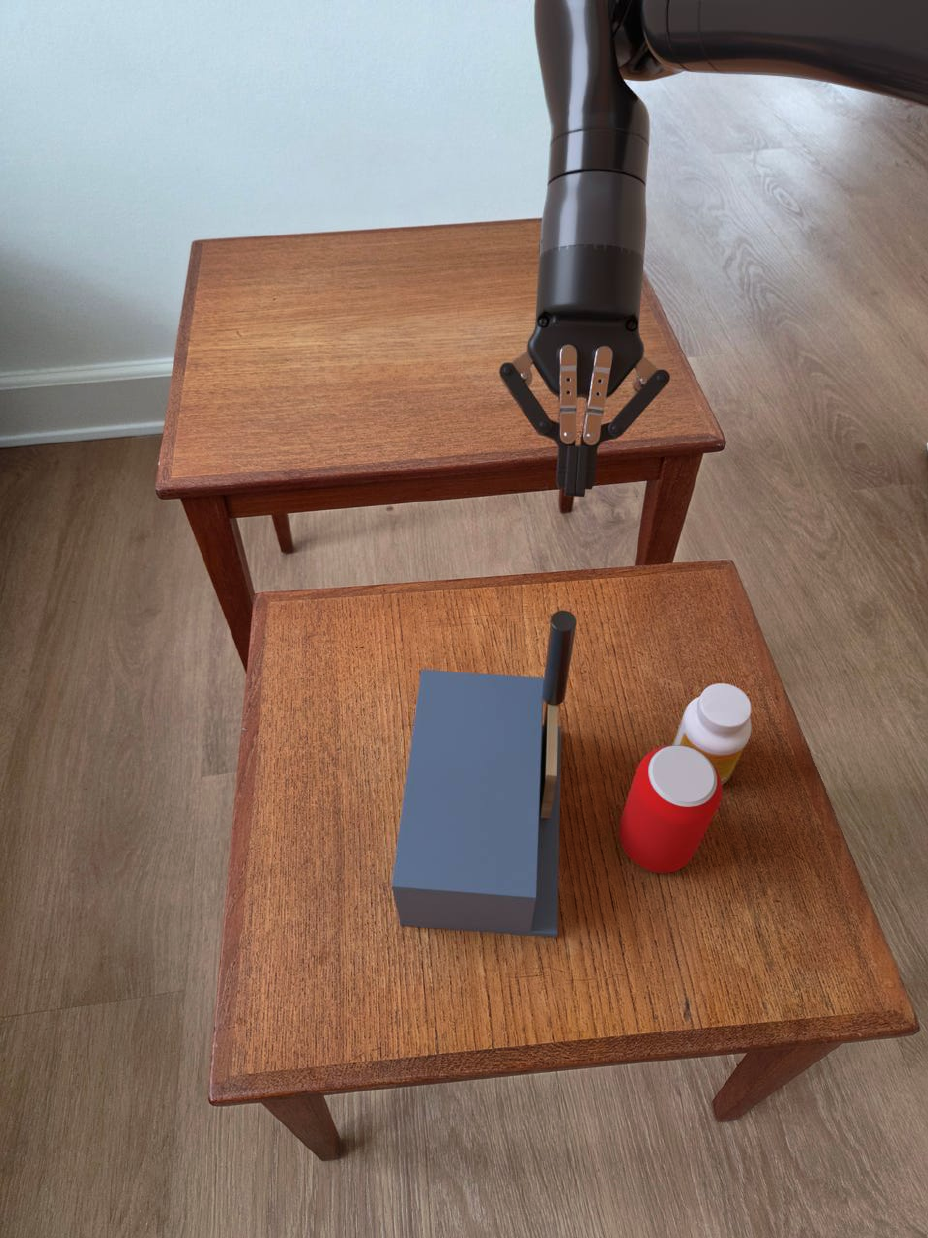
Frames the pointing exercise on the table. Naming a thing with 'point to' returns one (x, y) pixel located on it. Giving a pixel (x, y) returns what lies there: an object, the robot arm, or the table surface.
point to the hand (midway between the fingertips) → (574, 496)
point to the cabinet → (478, 809)
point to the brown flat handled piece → (554, 699)
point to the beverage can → (669, 808)
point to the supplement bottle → (717, 726)
